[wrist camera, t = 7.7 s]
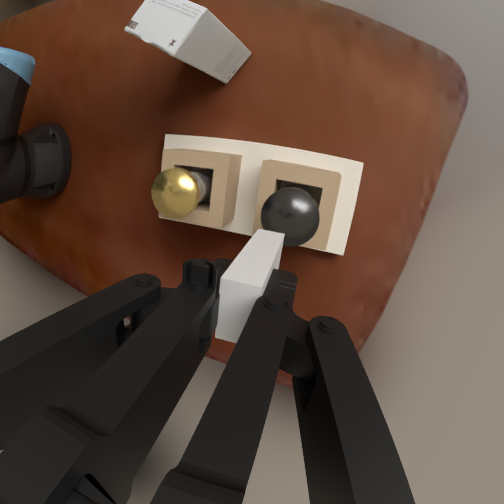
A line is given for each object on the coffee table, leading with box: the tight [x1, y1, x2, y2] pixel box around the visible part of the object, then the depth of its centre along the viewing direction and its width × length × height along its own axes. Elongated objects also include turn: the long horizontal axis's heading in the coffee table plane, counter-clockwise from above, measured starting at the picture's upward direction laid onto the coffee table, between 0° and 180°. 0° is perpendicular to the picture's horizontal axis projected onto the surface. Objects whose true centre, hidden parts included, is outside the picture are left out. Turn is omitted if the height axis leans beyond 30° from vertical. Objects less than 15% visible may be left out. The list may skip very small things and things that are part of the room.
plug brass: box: [151, 168, 214, 219], centre depth 33 cm, size 5×5×9 cm
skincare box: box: [124, 0, 251, 84], centre depth 26 cm, size 8×6×15 cm
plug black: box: [261, 185, 320, 247], centre depth 30 cm, size 5×5×9 cm
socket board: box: [159, 134, 364, 255], centre depth 35 cm, size 26×12×7 cm, turn 82°
